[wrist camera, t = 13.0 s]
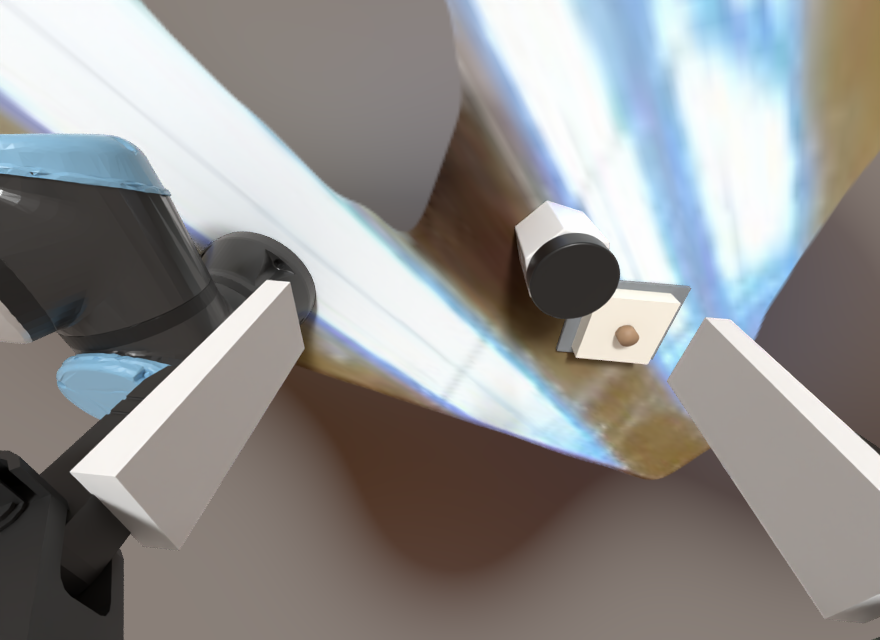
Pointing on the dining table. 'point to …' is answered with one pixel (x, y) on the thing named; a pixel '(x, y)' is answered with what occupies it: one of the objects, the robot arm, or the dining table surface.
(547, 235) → the jar
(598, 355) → the lid
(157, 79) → the dining table surface
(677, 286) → the mat
